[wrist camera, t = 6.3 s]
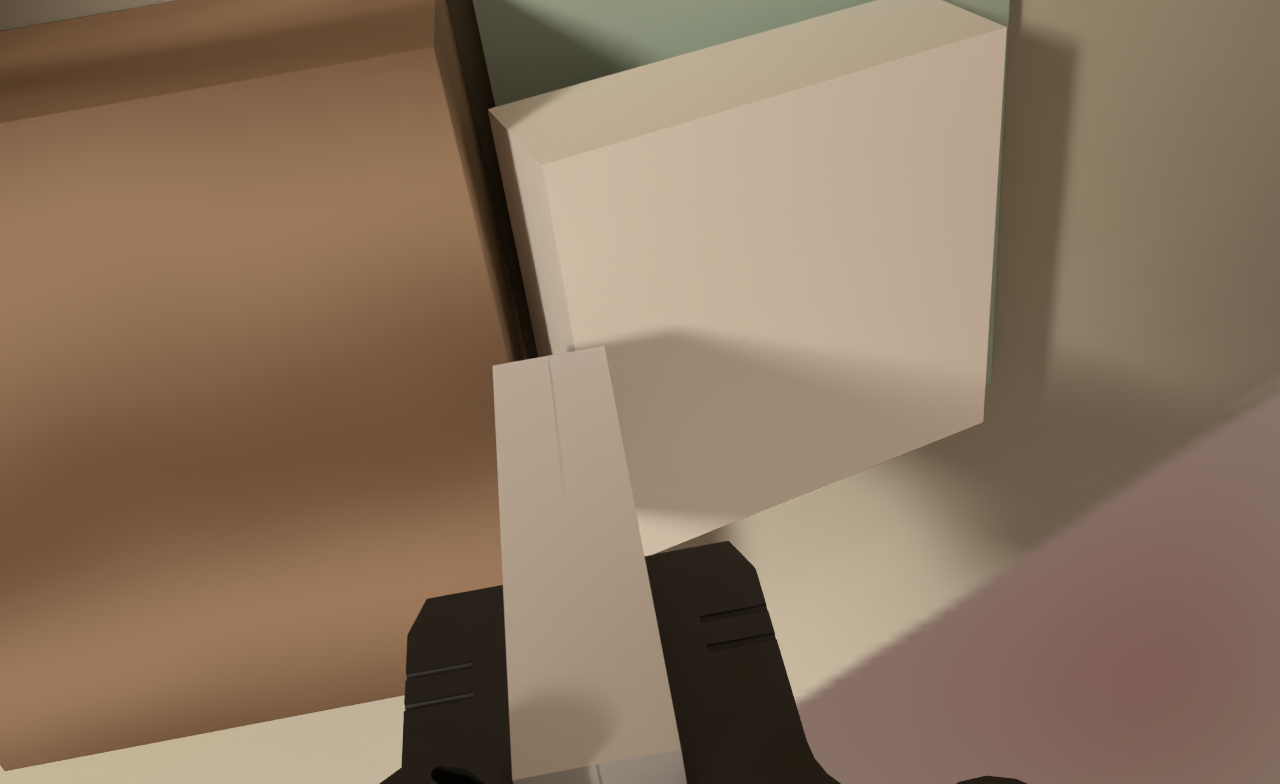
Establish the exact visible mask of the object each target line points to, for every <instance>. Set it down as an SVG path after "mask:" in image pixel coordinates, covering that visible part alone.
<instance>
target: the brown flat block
mask: <svg viewBox="0 0 1280 784" xmlns="http://www.w3.org/2000/svg"><path fill="white" fill-rule="evenodd" d="M527 359H528V357H527V352H526V348H525V343H524V339H523V334H522V330H521V326H520V321H519V317H518V312H517V308H516V304H515V299H514V295H513V290H512V286H511V281H510V277H509V273H508V268H507V264H506V259H505V255H504V251H503V246H502V242H501V237H500V233H499V229H498V224H497V220H496V215H495V211H494V206H493V202H492V198H491V193H490V189H489V184H488V180H487V176H486V171H485V167H484V162H483V158H482V153H481V149H480V145H479V140H478V136H477V131H476V127H475V123H474V118H473V114H472V109H471V105H470V101H469V96H468V92H467V87H466V83H465V78H464V74H463V70H462V65H461V61H460V56H459V52H458V48H457V43H456V39H455V34H454V30H453V25H452V21H451V17H450V12H449V8H448V3H447V0H178V1H172V2H166V3H161V4H155V5H149V6H143V7H138V8H132V9H126V10H120V11H114V12H109V13H103V14H97V15H91V16H86V17H80V18H74V19H68V20H62V21H57V22H51V23H45V24H39V25H34V26H28V27H22V28H16V29H11V30H5V31H0V765H1V766H2V768H3V769H4V771H8V770H13V769H19V768H24V767H29V766H35V765H40V764H45V763H50V762H56V761H61V760H66V759H71V758H77V757H82V756H87V755H92V754H98V753H103V752H108V751H113V750H119V749H124V748H129V747H134V746H140V745H145V744H150V743H155V742H161V741H166V740H171V739H176V738H182V737H187V736H192V735H197V734H203V733H208V732H213V731H218V730H224V729H229V728H234V727H239V726H245V725H250V724H255V723H260V722H266V721H271V720H276V719H282V718H287V717H292V716H297V715H303V714H308V713H313V712H318V711H324V710H329V709H334V708H339V707H345V706H350V705H355V704H360V703H366V702H371V701H376V700H381V699H387V698H392V697H397V696H402V695H405V680H407V677H406V654H407V635H408V633H409V631H410V629H411V627H412V625H413V624H414V622H415V620H416V618H417V616H418V614H419V612H420V610H421V609H422V607H423V605H424V603H425V601H426V599H428V598H433V597H439V596H444V595H450V594H455V593H461V592H466V591H472V590H477V589H483V588H488V587H494V586H499V585H503V575H502V554H501V533H500V512H499V491H498V470H497V449H496V429H495V408H494V387H493V365H499V364H505V363H510V362H516V361H521V360H527Z"/></svg>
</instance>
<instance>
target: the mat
mask: <svg viewBox="0 0 1280 784" xmlns="http://www.w3.org/2000/svg"><path fill="white" fill-rule="evenodd" d="M872 1H875V0H473V4H474V9H475V13H476V18H477V23H478V27H479V32H480V37H481V42H482V46H483V51H484V56H485V60H486V65H487V70H488V74H489V79H490V84H491V88H492V93H493V98H494V102H495V107H498V106H501V105H505V104H509V103H512V102H516V101H519V100H523V99H526V98H530V97H534V96H537V95H541V94H544V93H548V92H551V91H555V90H558V89H562V88H566V87H569V86H573V85H576V84H580V83H583V82H587V81H591V80H594V79H598V78H601V77H605V76H608V75H612V74H615V73H619V72H623V71H626V70H630V69H633V68H637V67H640V66H644V65H648V64H651V63H655V62H658V61H662V60H665V59H669V58H672V57H676V56H680V55H683V54H687V53H690V52H694V51H697V50H701V49H705V48H708V47H712V46H715V45H719V44H722V43H726V42H729V41H733V40H737V39H740V38H744V37H747V36H751V35H754V34H758V33H761V32H765V31H769V30H772V29H776V28H779V27H783V26H786V25H790V24H794V23H797V22H801V21H804V20H808V19H811V18H815V17H818V16H822V15H826V14H829V13H833V12H836V11H840V10H843V9H847V8H851V7H854V6H858V5H861V4H865V3H868V2H872ZM943 1H945V2H948V3H950V4H952V5H955V6H957V7H960V8H962V9H965V10H967V11H969V12H972V13H974V14H977V15H979V16H981V17H984V18H986V19H989V20H991V21H993V22H996V23H998V24H1001V25H1003V26H1006V27H1007V31H1006V48H1005V65H1004V82H1003V99H1002V115H1001V132H1000V149H999V166H998V183H997V200H996V217H995V233H994V250H993V267H992V284H991V301H990V318H989V334H988V351H987V368H986V385H985V386H989V385H991V382H992V361H993V340H994V319H995V298H996V277H997V257H998V236H999V215H1000V194H1001V173H1002V152H1003V131H1004V110H1005V89H1006V68H1007V48H1008V27H1009V6H1010V0H943Z"/></svg>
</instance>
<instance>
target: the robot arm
mask: <svg viewBox="0 0 1280 784" xmlns="http://www.w3.org/2000/svg"><path fill="white" fill-rule="evenodd" d="M493 387H494V408H495V429H496V449H497V470H498V491H499V512H500V533H501V554H502V575H503V585H499V586H494V587H488V588H483V589H477V590H472V591H466V592H461V593H455V594H450V595H444V596H439V597H433V598H428V599H426V601H425V603H424V605H423V607H422V609H421V610H420V612H419V614H418V616H417V618H416V620H415V622H414V624H413V625H412V627H411V629H410V631H409V633H408V635H407V654H406V677H407V680H405V701H404V704H405V711H404V724H403V748H402V768H400V769H399V770H398V771H396V772H395V773H394V774H392V775H391V776H389V777H388V778H387V779H385V780H384V781H383V782H381V783H380V784H840V783H839V782H838V781H836V780H835V779H834V778H832V777H831V776H830V775H828V774H827V773H826V772H825V770H824V769H823V768H822V767H821V766H820V764H819V763H818V762H817V761H816V760H815V758H814V756H813V754H812V752H811V749H810V747H809V745H808V743H807V740H806V737H805V733H804V730H803V727H802V723H801V720H800V716H799V713H798V710H797V706H796V703H795V700H794V696H793V693H792V689H791V686H790V683H789V679H788V676H787V673H786V669H785V666H784V663H783V659H782V656H781V652H780V649H779V646H778V642H777V640H776V638H775V632H774V629H773V626H772V622H771V619H770V615H769V612H768V611H767V607H766V602H765V599H764V595H763V592H762V589H761V585H760V582H759V578H758V575H757V572H756V569H755V567H754V566H753V565H752V564H751V563H750V562H749V561H748V560H747V559H746V558H745V557H744V556H743V555H742V554H741V553H740V552H739V551H738V550H737V549H736V548H735V547H734V546H733V545H732V544H731V543H730V542H729V541H725V542H720V543H714V544H709V545H703V546H698V547H692V548H687V549H682V550H676V551H671V552H665V553H660V554H654V555H649V556H644V551H643V546H642V541H641V535H640V530H639V525H638V520H637V514H636V509H635V504H634V499H633V493H632V488H631V483H630V478H629V472H628V467H627V462H626V456H625V451H624V446H623V441H622V435H621V430H620V425H619V420H618V414H617V409H616V404H615V399H614V393H613V388H612V383H611V378H610V372H609V367H608V362H607V357H606V351H605V346H601V347H595V348H589V349H584V350H578V351H572V352H567V353H561V354H555V355H550V356H544V357H538V358H533V359H527V360H521V361H516V362H510V363H505V364H499V365H493ZM957 784H1026V783H1024V782H1022V781H1019V780H1017V779H1012V778H1003V777H992V776H983V777H979V778H974V779H970V780H965V781H961V782H958V783H957Z"/></svg>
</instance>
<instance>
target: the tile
mask: <svg viewBox="0 0 1280 784" xmlns="http://www.w3.org/2000/svg"><path fill="white" fill-rule="evenodd" d="M1006 31H1007V27H1006V26H1003V25H1001V24H998V23H996V22H993V21H991V20H989V19H986V18H984V17H981V16H979V15H977V14H974V13H972V12H969V11H967V10H965V9H962V8H960V7H957V6H955V5H952V4H950V3H948V2H945V1H943V0H875V1H872V2H868V3H865V4H861V5H858V6H854V7H851V8H847V9H843V10H840V11H836V12H833V13H829V14H826V15H822V16H818V17H815V18H811V19H808V20H804V21H801V22H797V23H794V24H790V25H786V26H783V27H779V28H776V29H772V30H769V31H765V32H761V33H758V34H754V35H751V36H747V37H744V38H740V39H737V40H733V41H729V42H726V43H722V44H719V45H715V46H712V47H708V48H705V49H701V50H697V51H694V52H690V53H687V54H683V55H680V56H676V57H672V58H669V59H665V60H662V61H658V62H655V63H651V64H648V65H644V66H640V67H637V68H633V69H630V70H626V71H623V72H619V73H615V74H612V75H608V76H605V77H601V78H598V79H594V80H591V81H587V82H583V83H580V84H576V85H573V86H569V87H566V88H562V89H558V90H555V91H551V92H548V93H544V94H541V95H537V96H534V97H530V98H526V99H523V100H519V101H516V102H512V103H509V104H505V105H501V106H498V107H494V108H491V109H488V113H489V118H490V123H491V128H492V133H493V138H494V143H495V148H496V153H497V157H498V162H499V167H500V172H501V177H502V182H503V187H504V192H505V197H506V201H507V206H508V211H509V216H510V221H511V226H512V231H513V236H514V240H515V245H516V250H517V255H518V260H519V265H520V270H521V275H522V280H523V284H524V289H525V294H526V299H527V304H528V309H529V314H530V319H531V324H532V328H533V333H534V338H535V343H536V348H537V353H538V357H544V356H550V355H555V354H561V353H567V352H572V351H578V350H584V349H589V348H595V347H601V346H605V351H606V357H607V362H608V367H609V372H610V378H611V383H612V388H613V393H614V399H615V404H616V409H617V414H618V420H619V425H620V430H621V435H622V441H623V446H624V451H625V456H626V462H627V467H628V472H629V478H630V483H631V488H632V493H633V499H634V504H635V509H636V514H637V520H638V525H639V530H640V535H641V541H642V546H643V551H644V556H649V555H653V554H655V553H658V552H660V551H663V550H665V549H668V548H670V547H673V546H675V545H678V544H680V543H683V542H685V541H688V540H690V539H693V538H695V537H698V536H700V535H703V534H705V533H708V532H710V531H713V530H715V529H718V528H720V527H723V526H725V525H728V524H730V523H733V522H735V521H738V520H740V519H743V518H745V517H748V516H750V515H753V514H755V513H758V512H760V511H763V510H765V509H768V508H770V507H773V506H775V505H778V504H780V503H783V502H785V501H788V500H790V499H793V498H795V497H798V496H800V495H803V494H805V493H808V492H810V491H813V490H815V489H818V488H820V487H823V486H825V485H828V484H830V483H833V482H835V481H838V480H840V479H843V478H845V477H848V476H850V475H853V474H855V473H858V472H860V471H863V470H865V469H868V468H870V467H873V466H875V465H878V464H880V463H883V462H885V461H888V460H890V459H893V458H895V457H898V456H900V455H903V454H905V453H908V452H910V451H913V450H915V449H918V448H920V447H923V446H925V445H928V444H930V443H933V442H935V441H938V440H940V439H943V438H945V437H948V436H950V435H953V434H955V433H958V432H960V431H963V430H965V429H968V428H970V427H973V426H975V425H978V424H980V423H983V419H984V402H985V385H986V368H987V351H988V334H989V318H990V301H991V284H992V267H993V250H994V233H995V217H996V200H997V183H998V166H999V149H1000V132H1001V115H1002V99H1003V82H1004V65H1005V48H1006Z"/></svg>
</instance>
